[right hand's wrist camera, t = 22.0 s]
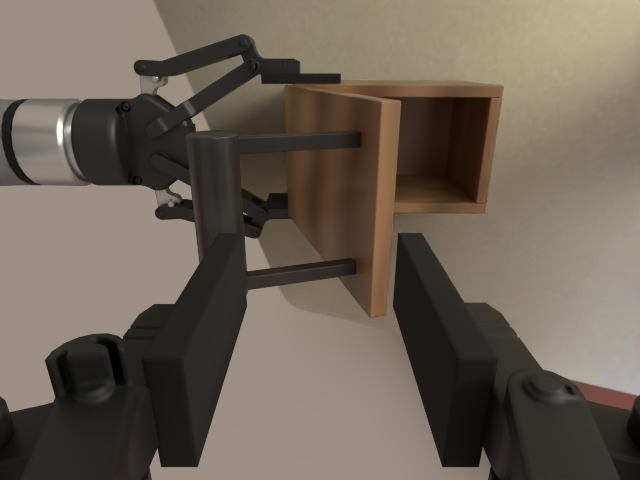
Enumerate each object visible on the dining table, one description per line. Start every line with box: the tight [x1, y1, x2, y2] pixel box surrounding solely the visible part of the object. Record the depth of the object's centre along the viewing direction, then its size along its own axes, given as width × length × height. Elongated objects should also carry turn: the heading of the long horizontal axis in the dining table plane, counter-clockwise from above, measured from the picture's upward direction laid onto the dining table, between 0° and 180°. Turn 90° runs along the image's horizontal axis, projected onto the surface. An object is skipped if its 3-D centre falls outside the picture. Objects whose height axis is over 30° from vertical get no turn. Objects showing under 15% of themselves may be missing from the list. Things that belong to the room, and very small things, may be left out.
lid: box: [185, 85, 401, 318], centre depth 26 cm, size 17×10×9 cm
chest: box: [293, 81, 504, 213], centre depth 40 cm, size 16×10×11 cm, turn 90°
